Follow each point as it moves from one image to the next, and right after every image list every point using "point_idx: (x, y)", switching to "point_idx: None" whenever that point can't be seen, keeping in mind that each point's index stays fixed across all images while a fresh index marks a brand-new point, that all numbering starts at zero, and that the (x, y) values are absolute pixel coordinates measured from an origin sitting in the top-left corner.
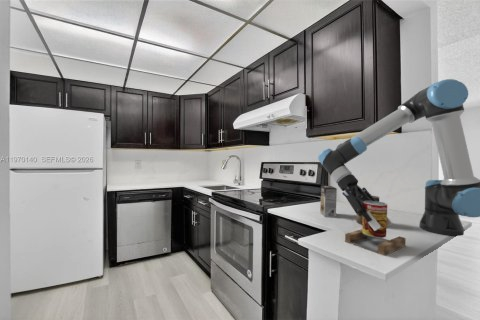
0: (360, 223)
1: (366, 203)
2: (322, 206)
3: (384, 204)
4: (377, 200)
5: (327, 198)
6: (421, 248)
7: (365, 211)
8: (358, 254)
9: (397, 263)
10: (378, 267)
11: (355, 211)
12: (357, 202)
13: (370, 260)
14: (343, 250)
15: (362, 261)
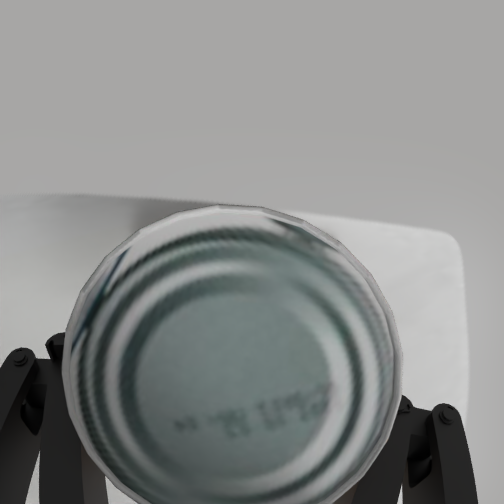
0: None
1: (387, 435)
2: None
3: (207, 241)
4: None
5: None
6: (130, 206)
7: (402, 396)
8: (420, 345)
9: (375, 227)
10: (448, 257)
11: (430, 459)
12: (453, 492)
13: (429, 294)
14: (429, 398)
15: (454, 306)
